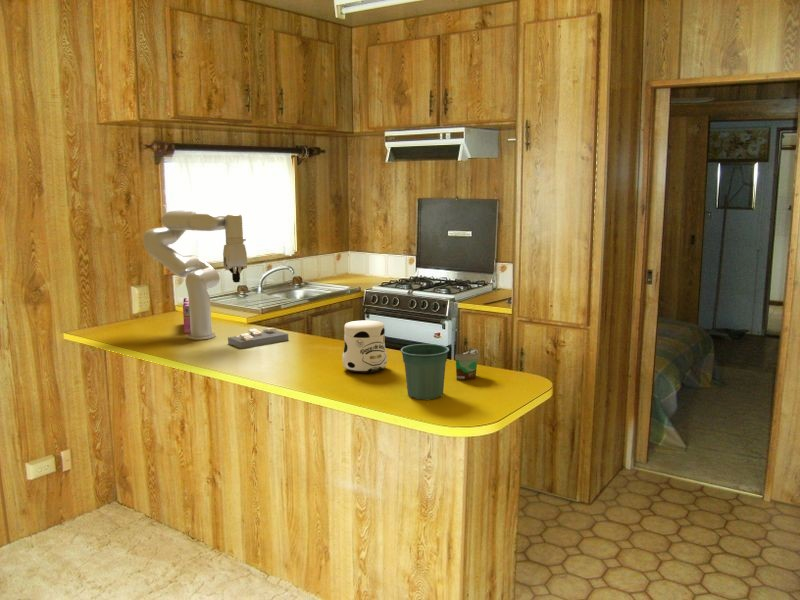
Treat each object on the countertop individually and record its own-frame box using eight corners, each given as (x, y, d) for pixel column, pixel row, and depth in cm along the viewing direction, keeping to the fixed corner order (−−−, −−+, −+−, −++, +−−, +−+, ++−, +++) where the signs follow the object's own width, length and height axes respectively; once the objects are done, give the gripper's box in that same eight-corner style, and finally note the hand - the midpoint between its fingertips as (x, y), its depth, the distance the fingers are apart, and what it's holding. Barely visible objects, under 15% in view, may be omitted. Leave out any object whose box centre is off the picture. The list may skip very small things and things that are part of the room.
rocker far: (263, 332, 330) (262, 328, 330) (270, 331, 332) (269, 327, 332) (269, 332, 325) (269, 328, 325) (276, 330, 328) (275, 327, 327)
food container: (469, 383, 256) (470, 356, 254) (454, 381, 259) (454, 354, 258) (484, 375, 266) (485, 349, 265) (469, 373, 270) (470, 347, 268)
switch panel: (228, 343, 319) (227, 336, 319) (275, 335, 334) (274, 329, 334) (240, 348, 310) (240, 341, 310) (288, 340, 325) (288, 333, 325)
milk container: (377, 377, 264) (376, 330, 261) (335, 373, 270) (334, 327, 267) (393, 366, 280) (393, 321, 277) (353, 362, 286) (352, 318, 283)
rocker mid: (248, 332, 325) (248, 328, 325) (255, 331, 327) (255, 327, 327) (254, 336, 321) (254, 333, 320) (261, 335, 323) (261, 332, 323)
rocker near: (239, 336, 316) (239, 333, 315) (246, 335, 318) (247, 332, 318) (246, 341, 312) (246, 338, 311) (253, 340, 314) (253, 336, 313)
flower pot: (391, 397, 241) (391, 351, 238) (416, 385, 255) (416, 341, 252) (434, 405, 232) (434, 357, 230) (457, 392, 246) (457, 346, 243)
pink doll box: (185, 323, 364) (183, 297, 362) (201, 322, 366) (199, 296, 364) (184, 333, 342) (182, 305, 339) (201, 332, 344) (199, 304, 341)
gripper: (245, 239, 326) (247, 279, 329) (215, 242, 316) (217, 282, 319) (253, 240, 320) (255, 281, 323) (222, 243, 311) (225, 284, 314)
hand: (236, 281), depth 321 cm, fingers closed
